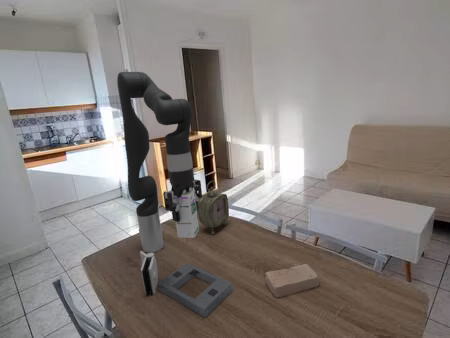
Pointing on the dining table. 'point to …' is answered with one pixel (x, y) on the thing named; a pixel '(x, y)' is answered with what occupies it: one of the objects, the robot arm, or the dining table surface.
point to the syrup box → (187, 216)
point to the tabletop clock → (213, 208)
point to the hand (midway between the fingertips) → (186, 216)
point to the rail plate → (205, 299)
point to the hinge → (149, 273)
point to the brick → (291, 280)
